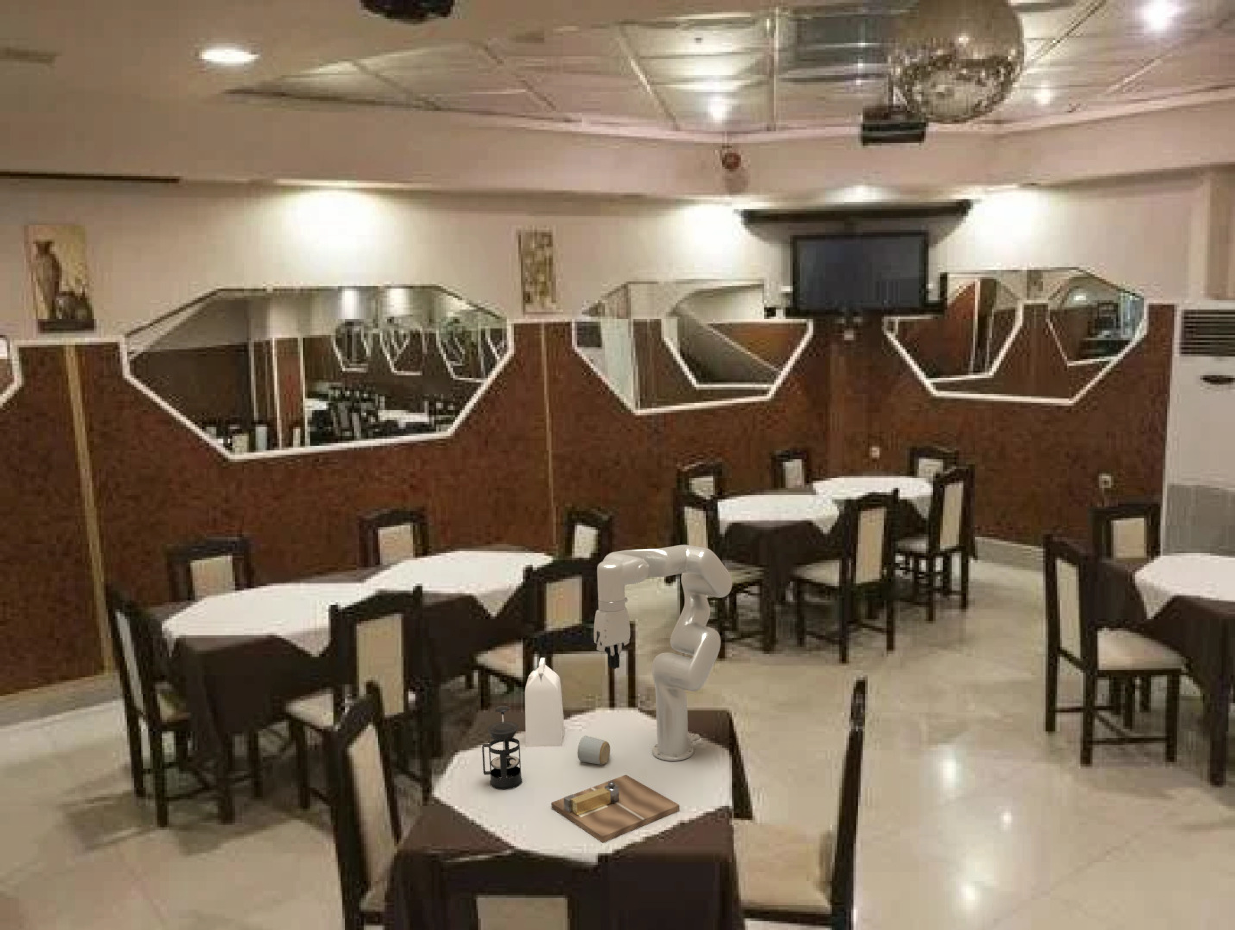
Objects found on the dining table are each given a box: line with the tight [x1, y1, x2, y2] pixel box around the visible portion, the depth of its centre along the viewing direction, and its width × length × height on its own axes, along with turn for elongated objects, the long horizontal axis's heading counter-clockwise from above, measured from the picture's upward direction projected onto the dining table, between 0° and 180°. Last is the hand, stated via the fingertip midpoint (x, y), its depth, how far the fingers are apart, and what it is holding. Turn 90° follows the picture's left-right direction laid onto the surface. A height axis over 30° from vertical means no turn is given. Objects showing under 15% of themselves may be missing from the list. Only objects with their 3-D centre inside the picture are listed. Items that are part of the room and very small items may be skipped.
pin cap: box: [607, 780, 615, 788], centre depth 281 cm, size 2×2×1 cm
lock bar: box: [571, 785, 619, 815], centre depth 279 cm, size 14×4×4 cm, turn 125°
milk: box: [524, 657, 566, 748], centre depth 326 cm, size 12×12×26 cm
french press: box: [481, 705, 523, 791], centre depth 296 cm, size 12×9×23 cm
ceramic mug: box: [577, 735, 611, 765], centre depth 311 cm, size 11×8×8 cm
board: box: [550, 774, 680, 843], centre depth 280 cm, size 26×24×5 cm
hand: (613, 666), depth 290 cm, fingers closed
